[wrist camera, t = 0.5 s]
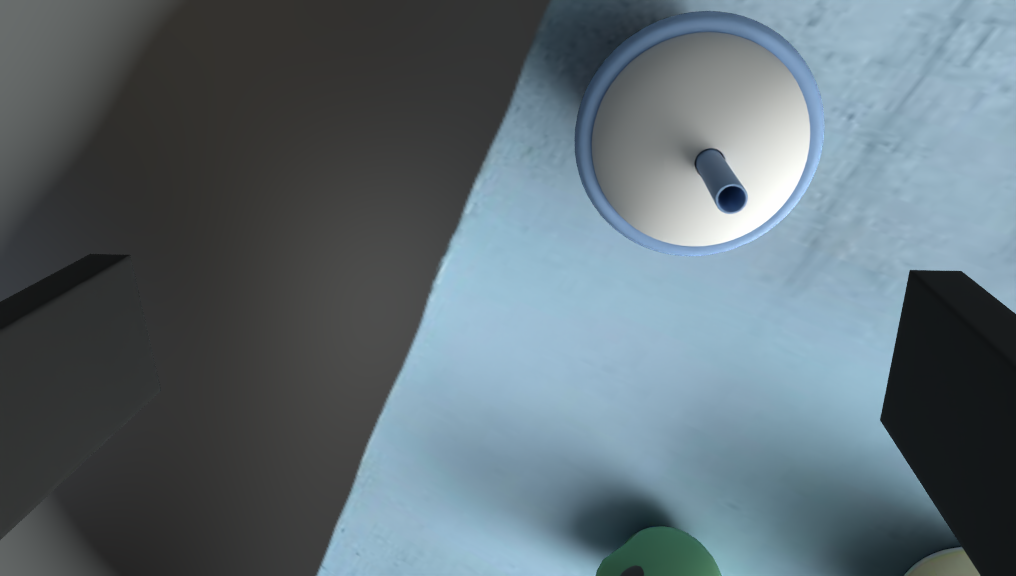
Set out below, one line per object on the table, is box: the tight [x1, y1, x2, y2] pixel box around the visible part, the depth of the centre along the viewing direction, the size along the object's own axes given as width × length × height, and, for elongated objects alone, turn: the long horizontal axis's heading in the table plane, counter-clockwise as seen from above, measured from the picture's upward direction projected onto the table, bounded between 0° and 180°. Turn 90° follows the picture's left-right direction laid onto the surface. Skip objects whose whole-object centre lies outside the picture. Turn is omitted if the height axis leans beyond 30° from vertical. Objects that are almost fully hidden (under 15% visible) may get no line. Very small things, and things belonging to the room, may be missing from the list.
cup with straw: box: [575, 11, 824, 256], centre depth 29 cm, size 9×9×18 cm
